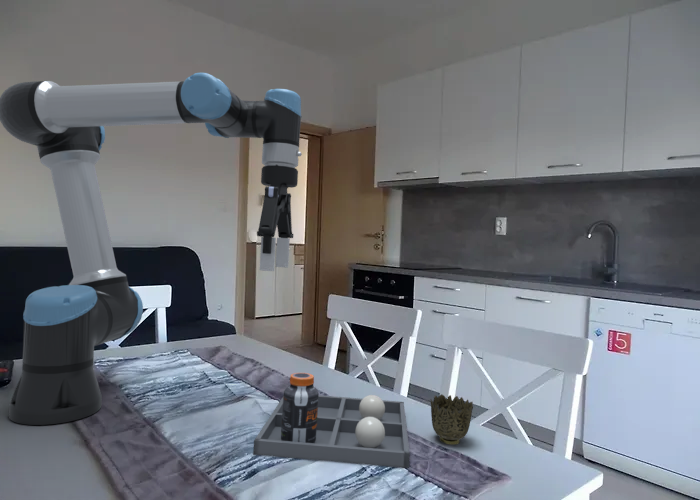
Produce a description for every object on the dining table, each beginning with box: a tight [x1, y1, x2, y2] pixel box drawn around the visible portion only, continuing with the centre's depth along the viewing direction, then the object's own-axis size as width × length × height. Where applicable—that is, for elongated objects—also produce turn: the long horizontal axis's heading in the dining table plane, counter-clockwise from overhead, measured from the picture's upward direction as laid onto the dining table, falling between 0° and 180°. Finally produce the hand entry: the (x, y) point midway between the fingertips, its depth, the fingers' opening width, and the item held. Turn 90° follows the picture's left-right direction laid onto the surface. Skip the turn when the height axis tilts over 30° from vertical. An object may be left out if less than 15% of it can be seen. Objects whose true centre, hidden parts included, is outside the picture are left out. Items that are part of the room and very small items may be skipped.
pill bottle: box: [281, 372, 320, 443], centre depth 82 cm, size 6×6×11 cm
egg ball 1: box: [359, 394, 385, 420], centre depth 93 cm, size 5×5×5 cm
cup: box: [430, 394, 474, 446], centre depth 86 cm, size 8×7×8 cm
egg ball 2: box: [355, 417, 385, 448], centre depth 81 cm, size 5×5×5 cm
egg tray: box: [252, 394, 411, 469], centre depth 88 cm, size 24×24×3 cm
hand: (274, 269), depth 101 cm, fingers open, 13 cm apart
